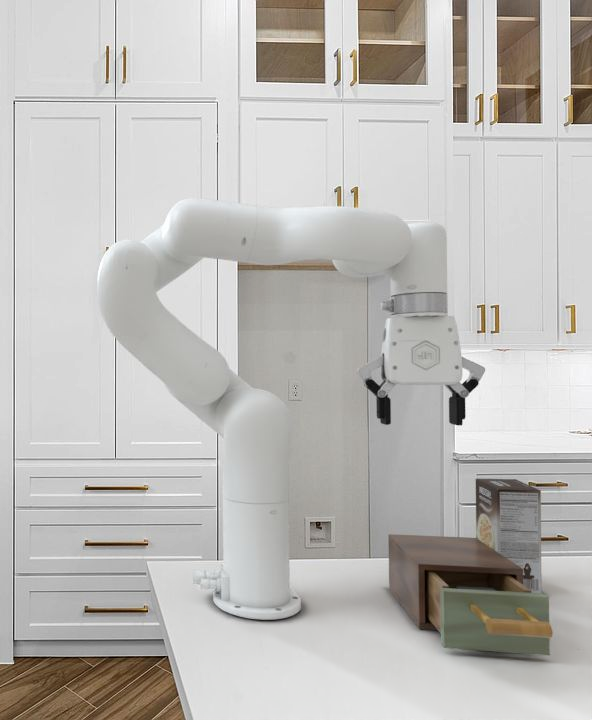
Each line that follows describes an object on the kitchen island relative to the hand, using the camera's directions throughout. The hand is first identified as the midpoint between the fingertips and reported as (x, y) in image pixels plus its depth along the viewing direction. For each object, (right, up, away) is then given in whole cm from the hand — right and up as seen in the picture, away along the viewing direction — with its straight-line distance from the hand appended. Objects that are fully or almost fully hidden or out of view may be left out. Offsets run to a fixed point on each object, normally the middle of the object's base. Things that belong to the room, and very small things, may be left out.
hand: (420, 424), depth 88 cm
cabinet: (+3, -26, -3) cm, 27 cm away
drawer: (+1, -25, -14) cm, 29 cm away
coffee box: (+18, -27, +7) cm, 33 cm away
